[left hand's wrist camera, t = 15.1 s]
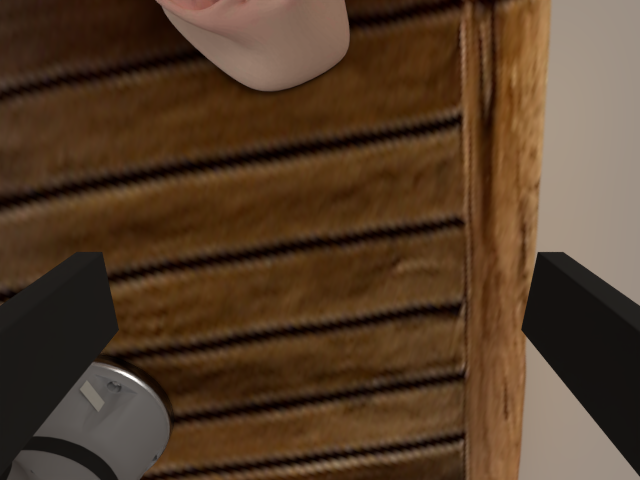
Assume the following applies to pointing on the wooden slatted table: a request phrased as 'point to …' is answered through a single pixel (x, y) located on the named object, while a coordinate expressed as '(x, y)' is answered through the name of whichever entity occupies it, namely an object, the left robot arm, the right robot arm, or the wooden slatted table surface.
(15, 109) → the wooden slatted table surface
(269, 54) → the anatomical model
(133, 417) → the left robot arm
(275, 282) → the wooden slatted table surface
